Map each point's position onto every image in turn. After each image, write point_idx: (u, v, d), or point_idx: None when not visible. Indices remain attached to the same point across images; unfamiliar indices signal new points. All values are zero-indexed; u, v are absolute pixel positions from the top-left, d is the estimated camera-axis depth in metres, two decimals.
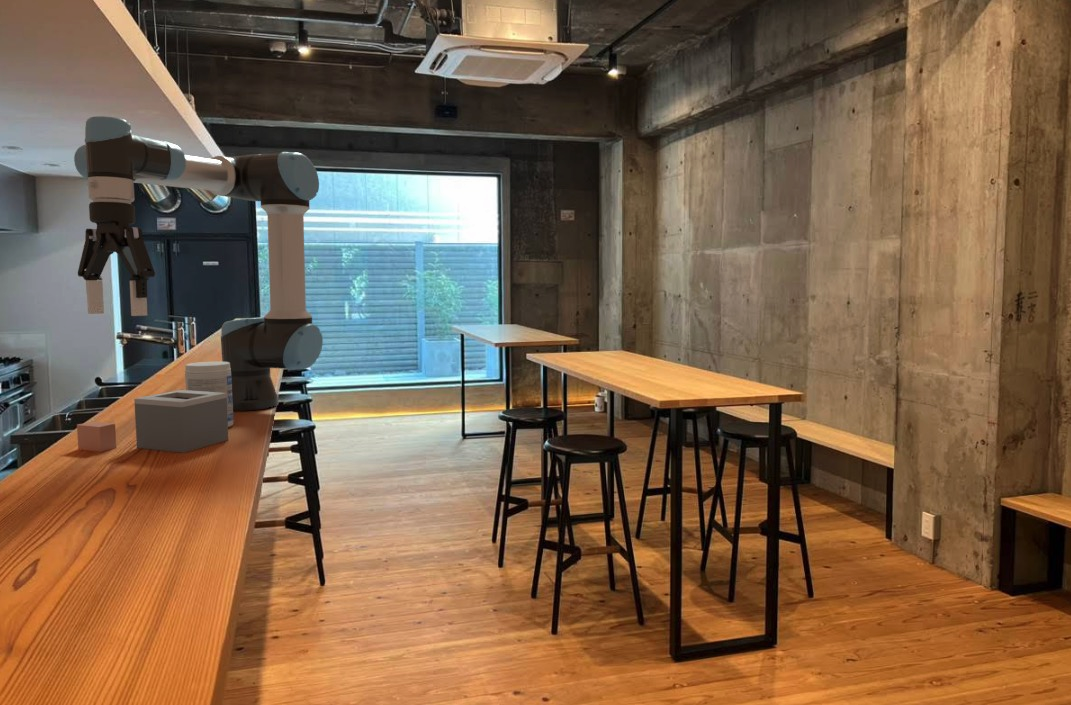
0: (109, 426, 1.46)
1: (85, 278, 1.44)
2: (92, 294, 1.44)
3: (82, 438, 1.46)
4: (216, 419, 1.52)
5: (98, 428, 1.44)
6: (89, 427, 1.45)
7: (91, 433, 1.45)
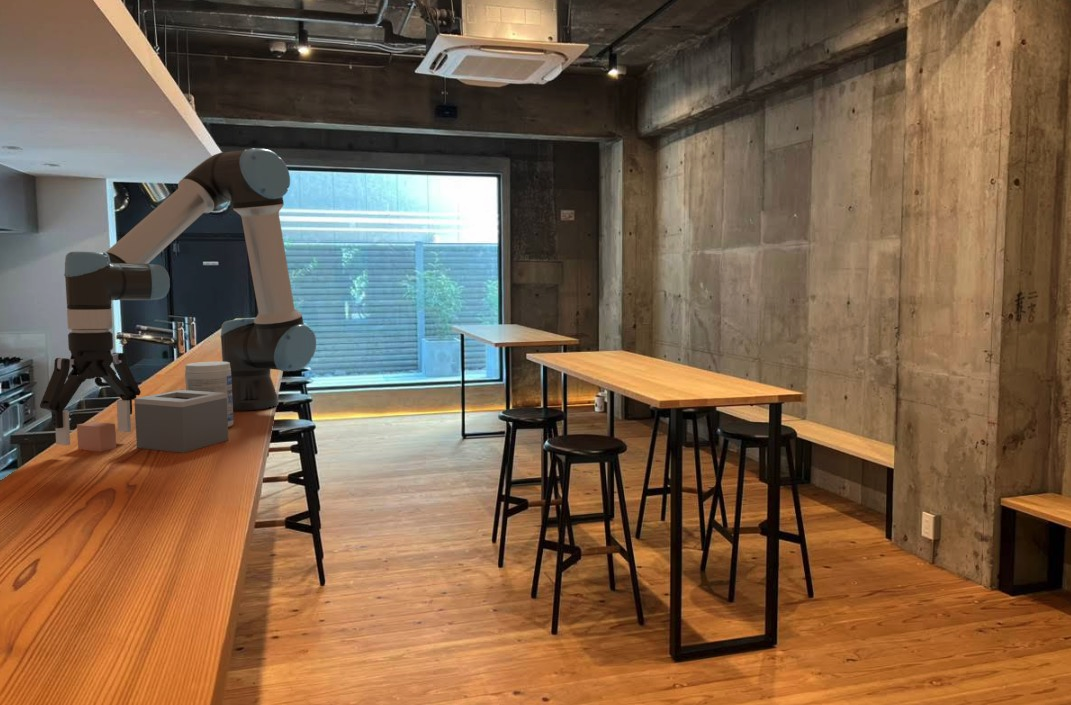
0: (109, 426, 1.46)
1: None
2: (119, 413, 1.53)
3: (82, 438, 1.46)
4: (216, 419, 1.52)
5: (98, 428, 1.44)
6: (89, 427, 1.45)
7: (91, 433, 1.45)
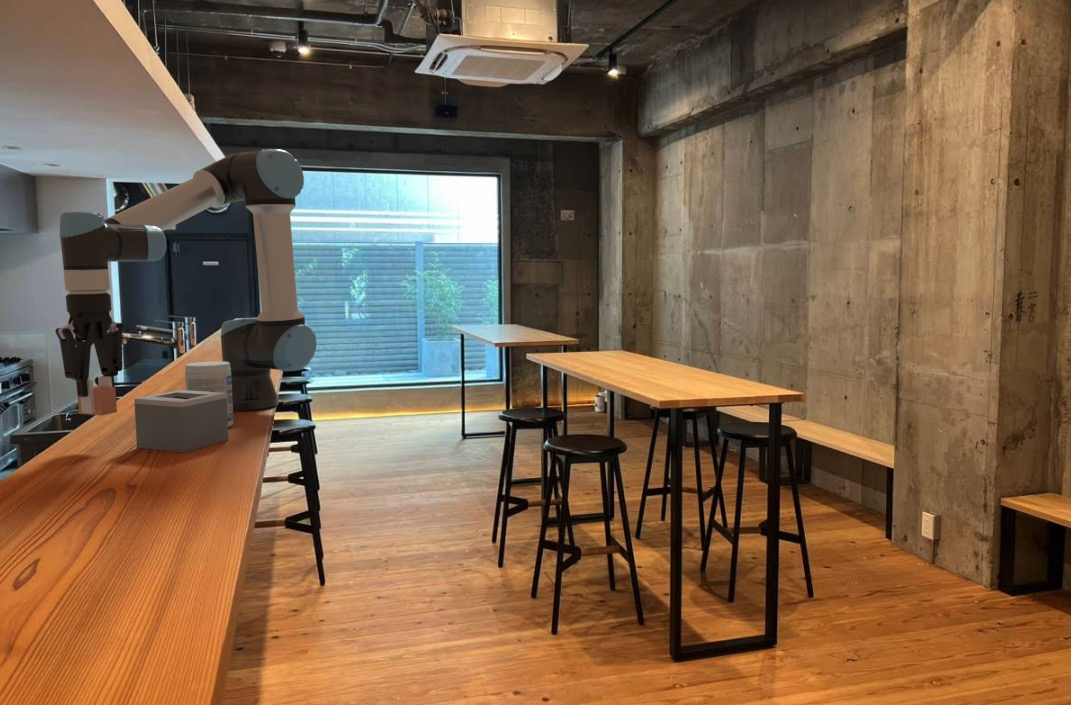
0: (109, 390, 1.46)
1: None
2: None
3: None
4: (216, 419, 1.52)
5: (98, 391, 1.44)
6: None
7: None
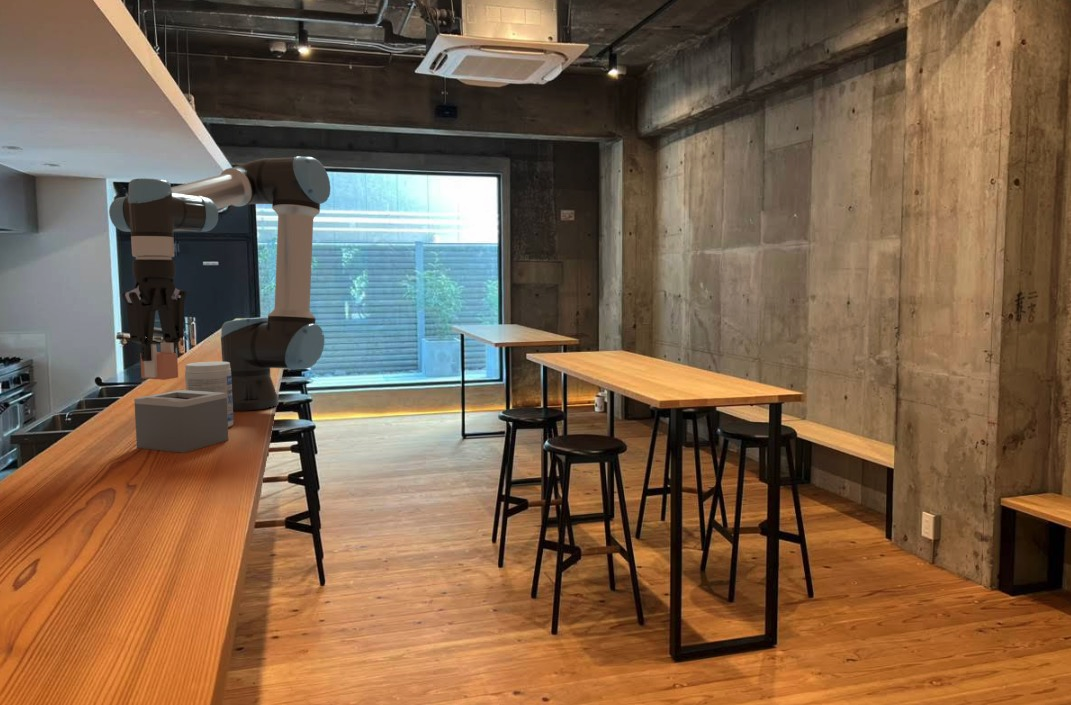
0: (171, 355, 1.48)
1: None
2: None
3: None
4: (216, 419, 1.52)
5: (161, 356, 1.46)
6: None
7: None
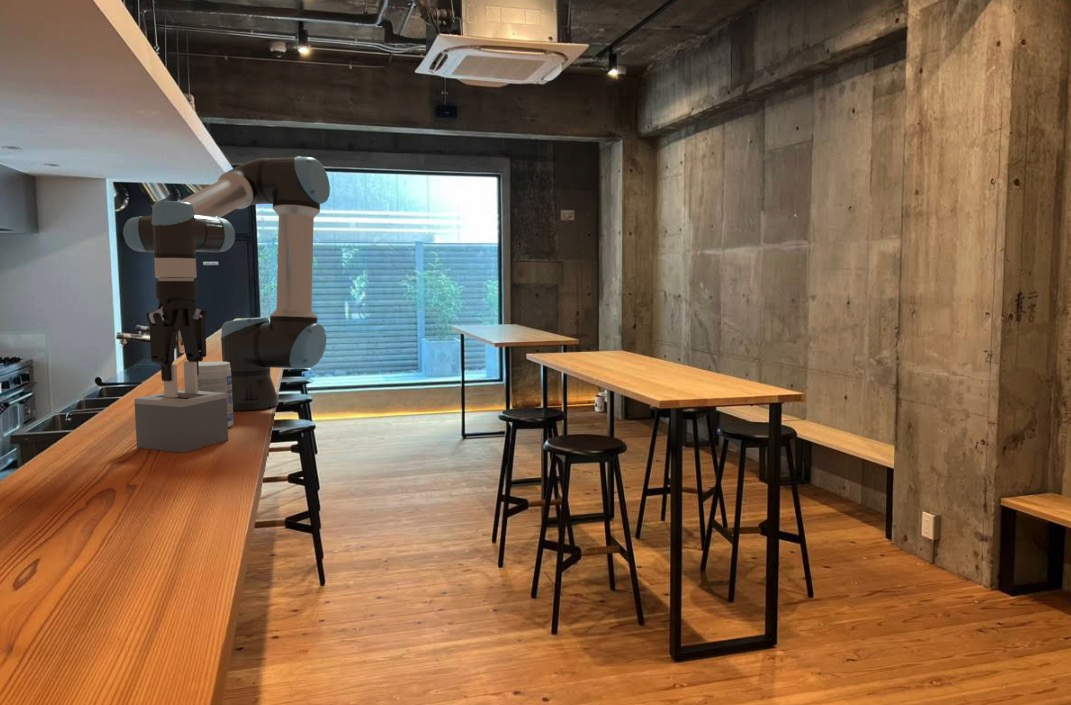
0: None
1: None
2: (186, 374, 1.52)
3: None
4: (216, 419, 1.52)
5: None
6: None
7: None
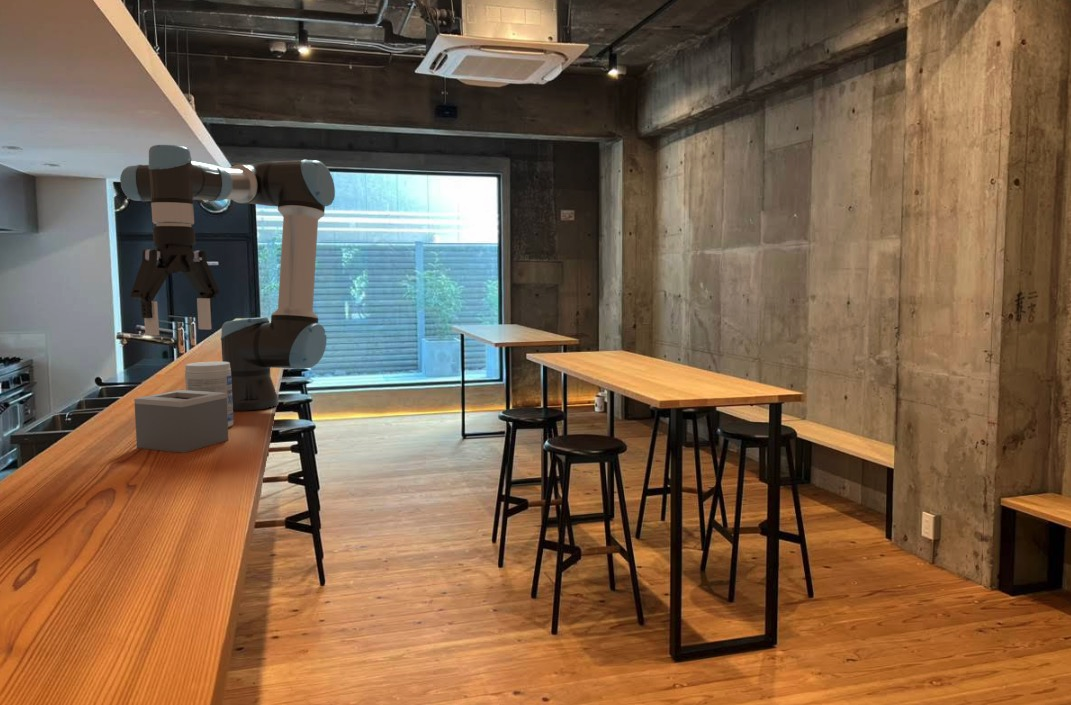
0: None
1: None
2: (200, 311, 1.55)
3: None
4: (216, 419, 1.52)
5: None
6: None
7: None
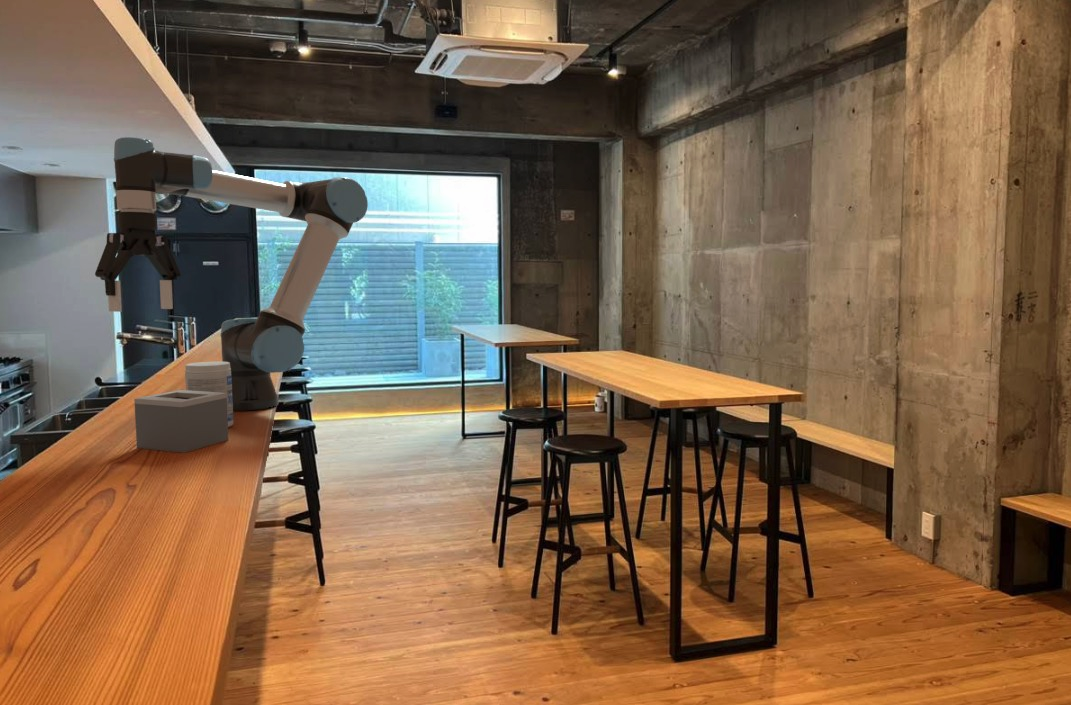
0: None
1: None
2: (162, 292, 1.68)
3: None
4: (216, 419, 1.52)
5: None
6: None
7: None
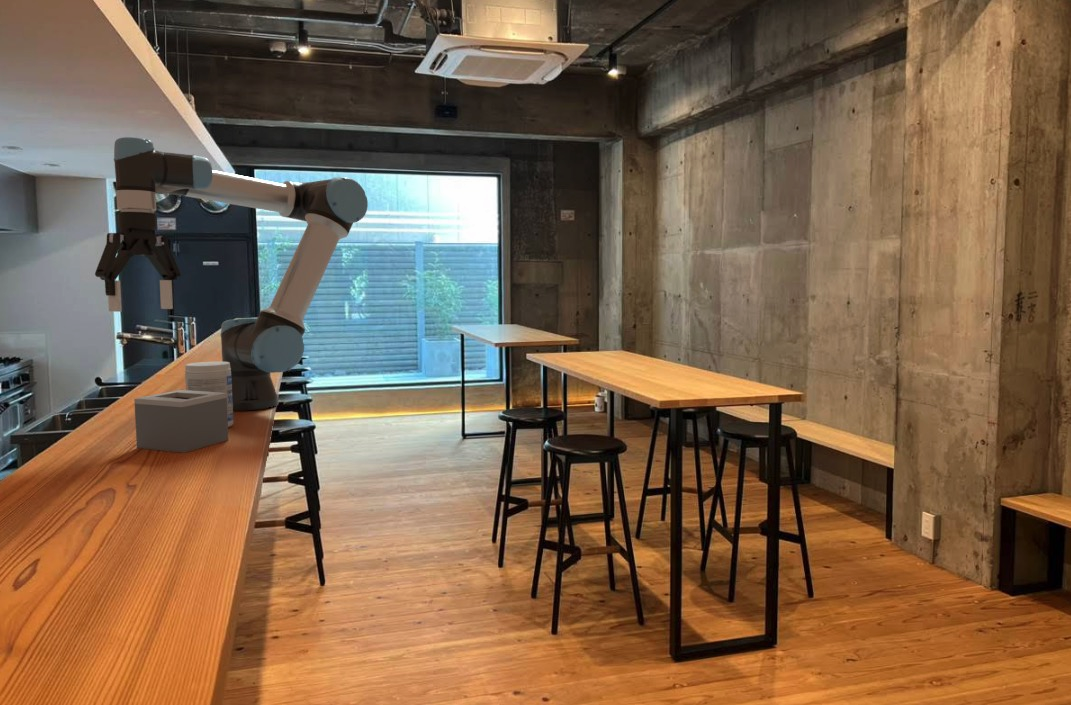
0: None
1: None
2: (162, 292, 1.68)
3: None
4: (216, 419, 1.52)
5: None
6: None
7: None
